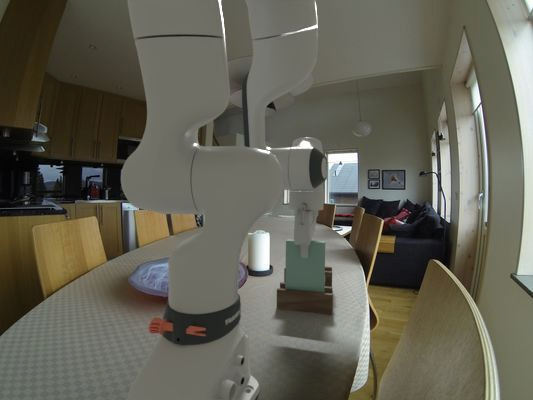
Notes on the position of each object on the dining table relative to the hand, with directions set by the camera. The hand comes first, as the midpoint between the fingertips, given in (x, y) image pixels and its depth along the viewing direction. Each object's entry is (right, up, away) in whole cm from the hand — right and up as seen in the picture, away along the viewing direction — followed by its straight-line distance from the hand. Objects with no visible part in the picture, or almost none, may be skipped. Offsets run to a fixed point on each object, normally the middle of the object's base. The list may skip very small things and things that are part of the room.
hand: (305, 255), depth 67 cm
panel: (0, -12, 0) cm, 12 cm away
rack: (+1, -15, +6) cm, 16 cm away
